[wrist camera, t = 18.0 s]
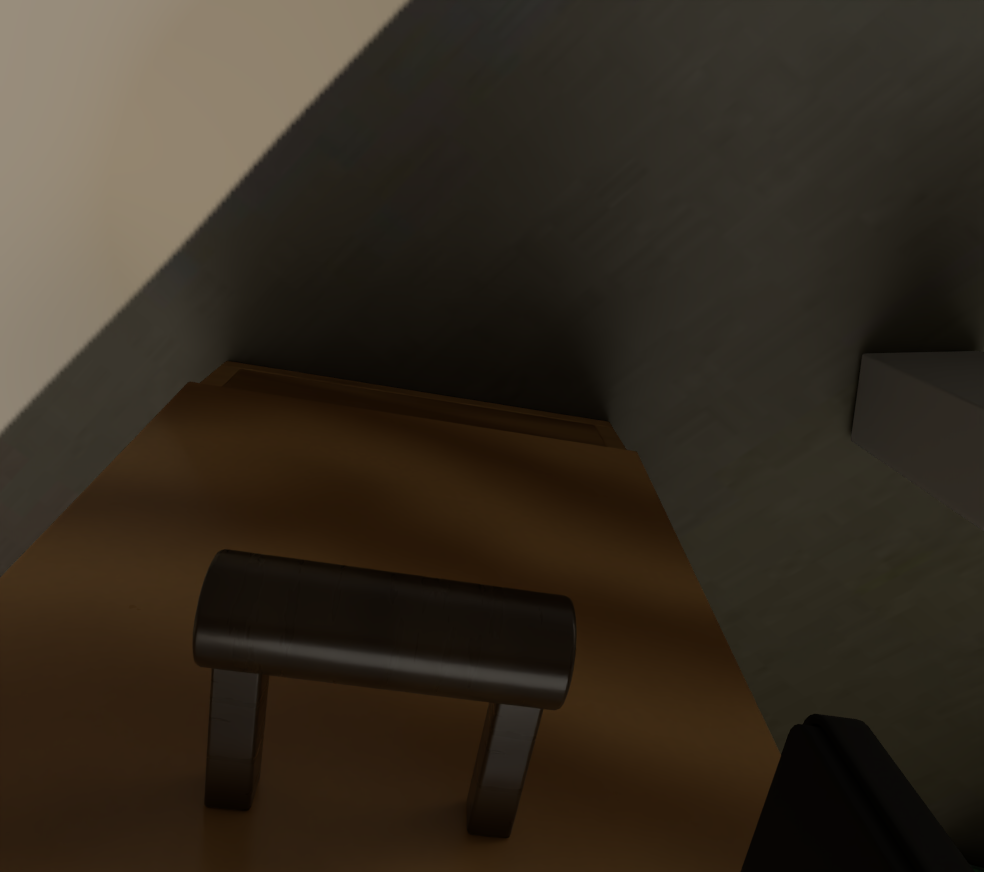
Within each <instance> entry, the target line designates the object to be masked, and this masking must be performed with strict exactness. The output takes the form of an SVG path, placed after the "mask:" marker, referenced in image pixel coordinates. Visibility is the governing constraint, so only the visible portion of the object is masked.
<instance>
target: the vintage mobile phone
mask: <svg viewBox="0 0 984 872" xmlns="http://www.w3.org/2000/svg"><path fill="white" fill-rule="evenodd" d="M851 441H852V442H854V443H855V444H857V445H858V446H860V447H861V448H863V449H864V450H865V451H867V452H868V453H870V454H871V455H873V456H874V457H876V458H877V459H879V460H880V461H882V462H883V463H885V464H886V465H888V466H889V467H890V468H892V469H893V470H895V471H896V472H898V473H899V474H901V475H902V476H904V477H905V478H907V479H908V480H910V481H911V482H913V483H914V484H915V485H917V486H918V487H920V488H921V489H923V490H924V491H926V492H927V493H929V494H930V495H932V496H933V497H935V498H936V499H938V500H939V501H940V502H942V503H943V504H945V505H946V506H948V507H949V508H951V509H952V510H954V511H955V512H957V513H958V514H960V515H961V516H963V517H964V518H965V519H967V520H968V521H970V522H971V523H973V524H974V525H976V526H977V527H979V528H980V529H982V530H983V531H984V352H983V351H954V352H909V353H865V354H863V355H862V361H861V368H860V376H859V383H858V390H857V398H856V405H855V413H854V420H853V427H852V435H851Z"/></svg>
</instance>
